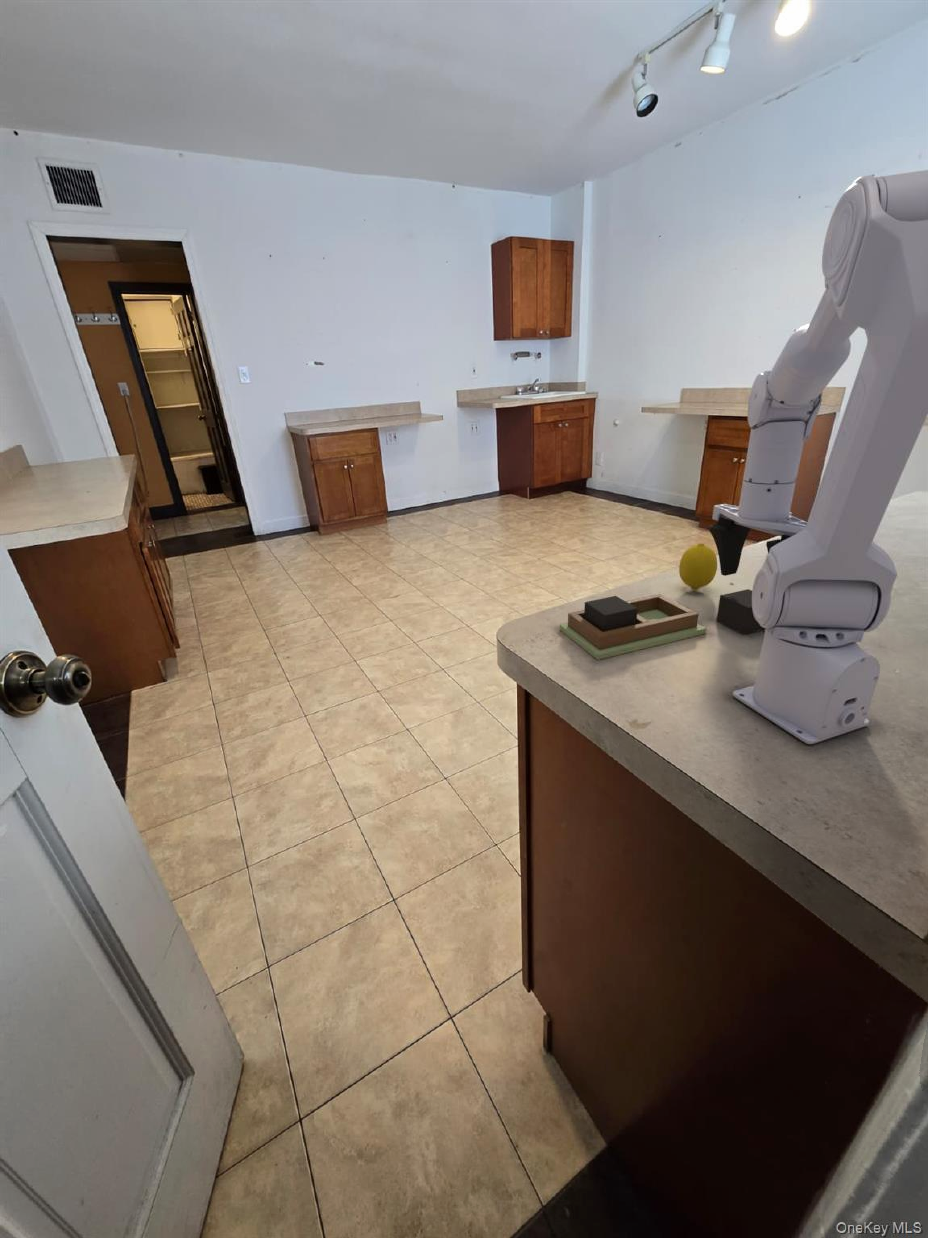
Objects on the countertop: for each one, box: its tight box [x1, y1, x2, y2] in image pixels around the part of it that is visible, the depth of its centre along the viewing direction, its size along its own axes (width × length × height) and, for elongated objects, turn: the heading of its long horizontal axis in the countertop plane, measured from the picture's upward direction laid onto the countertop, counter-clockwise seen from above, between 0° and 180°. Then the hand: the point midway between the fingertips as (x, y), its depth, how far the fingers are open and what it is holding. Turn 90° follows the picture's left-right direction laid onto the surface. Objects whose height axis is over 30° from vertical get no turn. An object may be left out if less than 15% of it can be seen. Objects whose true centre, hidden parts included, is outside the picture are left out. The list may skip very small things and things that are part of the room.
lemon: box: [678, 542, 718, 591], centre depth 82 cm, size 6×6×8 cm
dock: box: [559, 593, 707, 661], centre depth 71 cm, size 10×17×3 cm, turn 109°
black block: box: [715, 588, 766, 636], centre depth 71 cm, size 5×5×4 cm
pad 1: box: [583, 595, 637, 632], centre depth 70 cm, size 5×5×4 cm
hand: (750, 582), depth 69 cm, fingers open, 7 cm apart
